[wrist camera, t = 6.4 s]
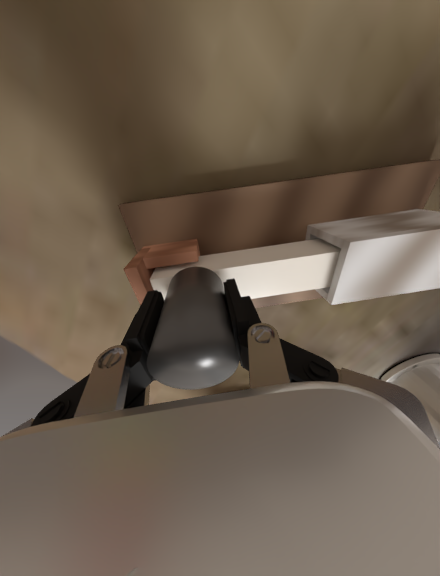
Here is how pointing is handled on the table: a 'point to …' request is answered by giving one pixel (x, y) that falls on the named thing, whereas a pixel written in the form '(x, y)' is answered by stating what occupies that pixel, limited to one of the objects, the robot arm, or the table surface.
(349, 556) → the robot arm
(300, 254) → the white block with knob
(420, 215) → the wooden board
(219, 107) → the table surface
